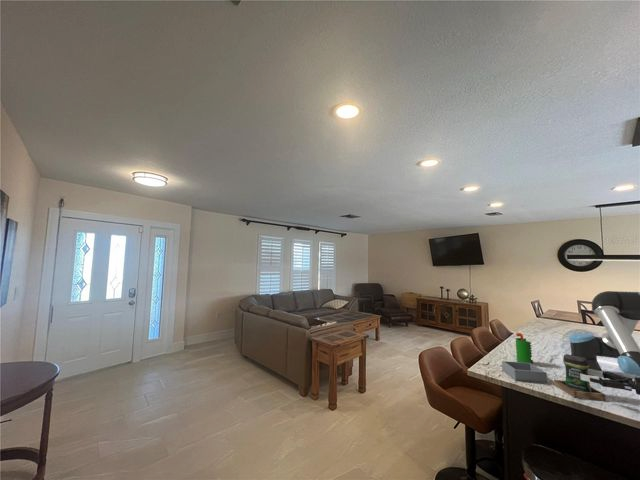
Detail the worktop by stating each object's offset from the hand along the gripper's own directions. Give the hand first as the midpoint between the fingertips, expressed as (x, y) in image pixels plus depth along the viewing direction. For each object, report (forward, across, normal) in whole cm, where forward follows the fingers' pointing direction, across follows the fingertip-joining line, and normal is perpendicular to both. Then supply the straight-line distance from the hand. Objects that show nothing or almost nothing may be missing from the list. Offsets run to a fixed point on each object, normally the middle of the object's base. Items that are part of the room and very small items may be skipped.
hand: (582, 373), depth 133 cm
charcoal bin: (+26, +3, -10) cm, 28 cm away
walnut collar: (+2, +1, -10) cm, 11 cm away
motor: (+33, +35, -11) cm, 49 cm away
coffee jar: (+2, +1, -11) cm, 11 cm away
